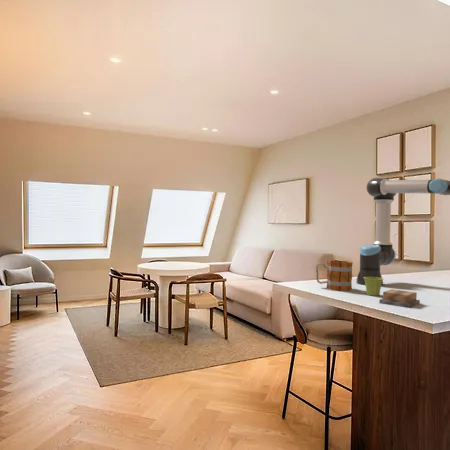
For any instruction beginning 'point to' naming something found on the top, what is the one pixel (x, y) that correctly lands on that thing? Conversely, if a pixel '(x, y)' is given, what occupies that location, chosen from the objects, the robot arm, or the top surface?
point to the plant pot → (373, 285)
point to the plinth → (399, 298)
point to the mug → (337, 275)
